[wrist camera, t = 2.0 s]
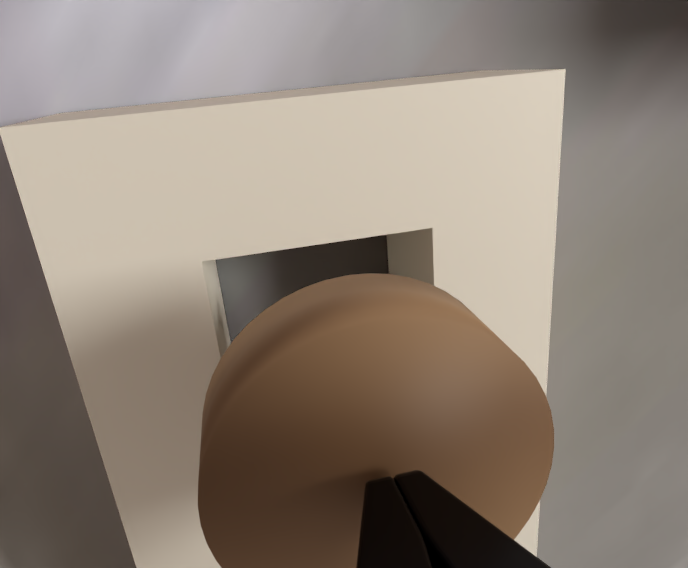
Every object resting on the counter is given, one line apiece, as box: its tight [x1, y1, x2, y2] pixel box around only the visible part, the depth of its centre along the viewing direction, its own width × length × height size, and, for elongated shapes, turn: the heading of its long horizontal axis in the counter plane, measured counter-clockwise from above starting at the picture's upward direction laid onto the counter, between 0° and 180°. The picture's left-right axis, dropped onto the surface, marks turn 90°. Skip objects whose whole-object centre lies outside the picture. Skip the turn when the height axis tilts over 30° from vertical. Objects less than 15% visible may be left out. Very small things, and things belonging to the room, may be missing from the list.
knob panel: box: [0, 69, 566, 568], centre depth 16 cm, size 22×11×4 cm, turn 5°
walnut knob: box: [198, 273, 554, 568], centre depth 11 cm, size 6×6×5 cm
